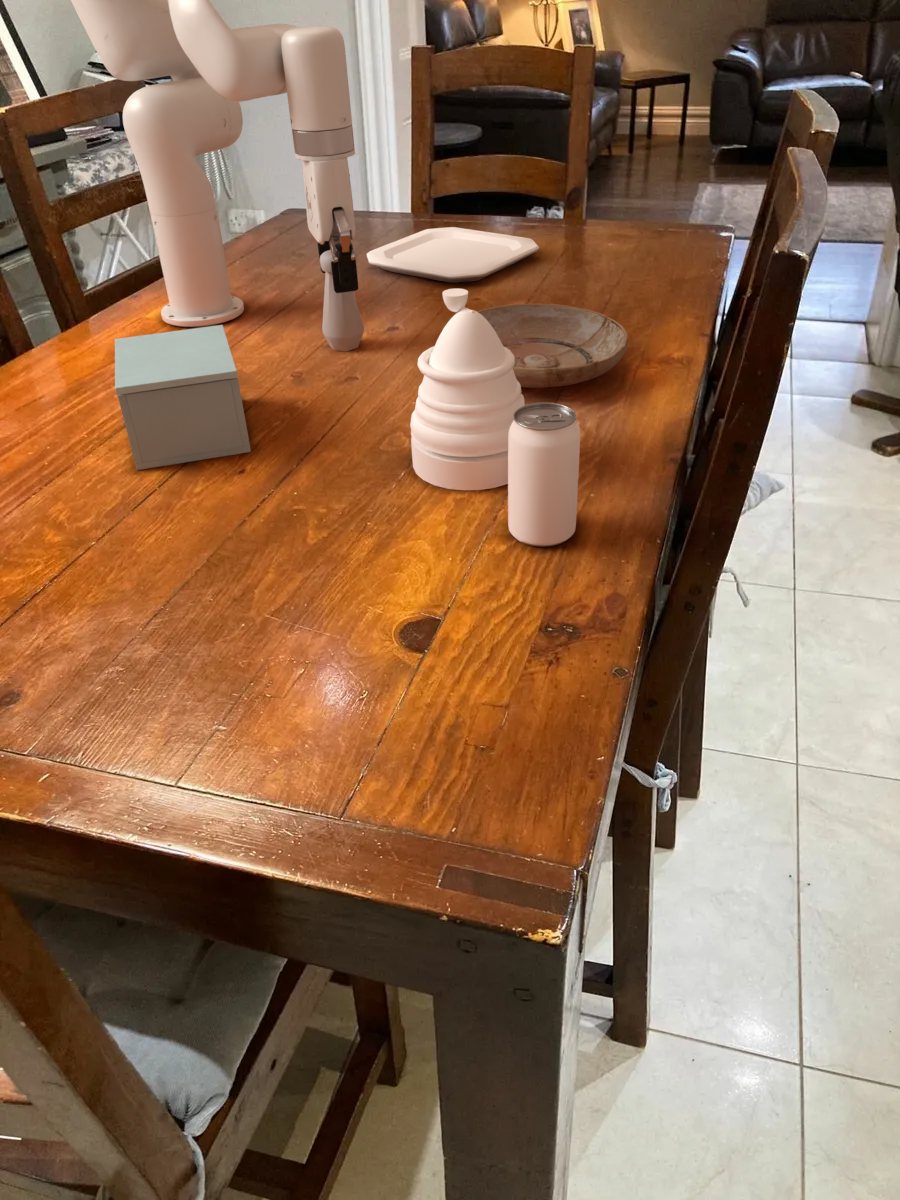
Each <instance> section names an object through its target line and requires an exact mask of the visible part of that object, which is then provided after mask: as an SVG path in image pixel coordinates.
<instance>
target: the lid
mask: <svg viewBox="0 0 900 1200" xmlns="http://www.w3.org/2000/svg"><path fill="white" fill-rule="evenodd" d="M232 378H238V379H239V375H238V370H237V367H236V364H235V359H234V356H233V353H232V351H231V347H230V343H229V341H228V338H227V334H226V331H225V328H224V325H223V324H216V325H209V326H201V327H193V328H187V329H181V330H179V329H178V330H172V331H166V332H157V333H152V334H151V333H149V334H141V335H133V336H127V337H120V338H115V339H114V389H115V394H116V396H118V395H121V394H128V393H135V392H142V391H149V390H156V389H162V388H169V387H176V386H183V385H190V384H197V383H204V382H211V381H218V380H225V379H232Z"/></svg>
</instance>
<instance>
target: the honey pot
mask: <svg viewBox="0 0 900 1200" xmlns="http://www.w3.org/2000/svg"><path fill="white" fill-rule="evenodd" d="M468 299H469V291H468V290H467V289H465V288H448V289H445V290H443V291H442V300H443V303H444V305H445V306H446V308H447V310H449V311H450V312H452V313H454V315H453V316H452V317H451V318H450V319H449V320H448V322H447V323H446V324H445V326H444V327H443V329H442V331H441V332H440V334H439V336H438V338H437V340H436V342H435V345H434V346H431V347H429V348H428V349H426V350H424V351H423V352H422V353H421V354H420V355H419V357H418V358H417V363H416V364H417V368H418V369H419V372H420V373H421V374H422V375H423V378H422V382H421V383H420V384H419V386H418V391H417V398H416V400H415V406H414V410H413V411H412V413H411V415H410V416H411V417H410V425H409V426H410V436H411V437H410V444H411V459H412V468H413V470H414V473H415V474H416V475H417V476H418V477H419V478H420V479H421V480H423V482H427V483H428V484H431V485H432V486H436V487H440V488H443V489H447V490H455V491H483V490H489V489H495V488H498V487H502V486H505V485H508V435H509V429H510V426H511V424H512V422H513V420H514V419H513V414H514V412H515V411H516V410H517V409H519V408H520V407H522V406H525V405H526V402H525V397H524V395H523V394H522V387H521V385H520V383H519V382H518V381H517V379H516V376H515V374H514V371H513V366H514V364H515V357H514V355H513V353H512V352H511V351H510V350H509V349H507V348H505V347H504V346H503V345H502V343H501V341H500V339H499V337H498V335H497V334H496V332H495V330H494V329H493V327H492V326H491V325H490V323H489V322H488V321H487V320H486V319H485V318H484V317H483V316H482V315H481V314H480V313H478V312H476V311H477V310H475V309H470V308H468V307H466V305H467V302H468Z"/></svg>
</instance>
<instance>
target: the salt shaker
mask: <svg viewBox="0 0 900 1200" xmlns="http://www.w3.org/2000/svg"><path fill="white" fill-rule="evenodd" d="M336 251H337V249H336ZM331 261H333V258H332V253H331V250H328V251H325V252H324V253H322V255H321V256H320V260H319V266H320V265H321V268H322V270H323V271H325V272H326V273H324V274H325V276H324V290H323V292H324V293H323V307H322V308H323V309H322V327H321V331H322V335H323V336H324V338H325V340H326V342H327V343H328V345H329V347H330V348H331V349H332V350H333V351H337V352H349V351H352V350H355V349H358V348H359V345H360V343H361V340H362V337H363V335H364V333H365V326H364V323H363V319H362V316H361V313H360V310H359V305H358V302H357V299H356V295H355V291H351V292H343V293H336V292H335V291H334V286H333V277H332V269H331ZM321 268H320V269H321Z"/></svg>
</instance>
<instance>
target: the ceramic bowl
mask: <svg viewBox="0 0 900 1200" xmlns="http://www.w3.org/2000/svg"><path fill="white" fill-rule="evenodd" d="M475 311H476V312H478V313H480V314H481V315H482V316H483V317H484V318H485V319H486V320H487V321H488V322H489V323H490V325H491V326H492V327H493V329H494V330H495V332H496V334H497V335H498V337H499V339H500V341H501V343H502V345H503V346H504V347H505V348H507V349H509V350H510V351H511V352H512V353H513V355H514V357H515V364H514V366H513V371H514V374H515V376H516V379H517V381H518V382H519V383H520V385H521V388H532V389H543V388H544V389H545V388H554V387H555V388H556V387H564V386H572V385H576V384H580V383H585V382H587V381H591V380H593V379H595V378H597V377H599V376H602V375H603V374H605V373H608V371H610V370H611V369H613V368H614V367H615V366H616V365H617V364H618V363H619V362H620V361H621V360H622V359H623V357H624V356H625V354H626V352H627V349H628V347H629V334H628V331H627V330H626V329H625V327H624V326H623V325H622V324H620V323H619V322H618V321H616V320H614V319H613V318H612V317H611V318H610V316H607V315H605V314H603V313H600V312H597V311H594V310H591V309H588V308H582V307H578V306H572V305H564V304H554V303H514V304H513V303H512V304H503V305H497V306H492V307H487V308H486V307H485V308H483V309H480V310H475Z"/></svg>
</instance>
